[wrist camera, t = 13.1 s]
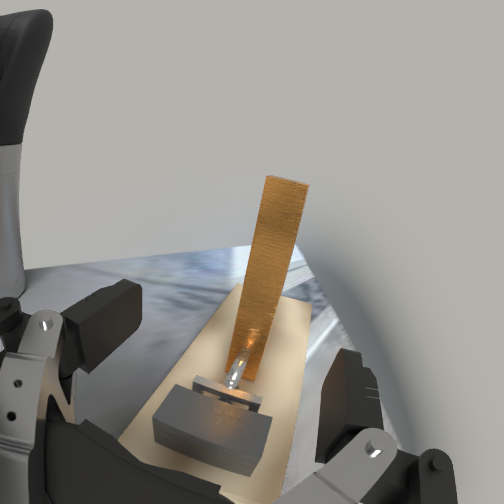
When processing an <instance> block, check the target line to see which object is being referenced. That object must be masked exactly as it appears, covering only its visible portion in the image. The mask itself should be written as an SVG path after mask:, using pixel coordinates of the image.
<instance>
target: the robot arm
mask: <svg viewBox="0 0 504 504" xmlns="http://www.w3.org/2000/svg"><path fill="white" fill-rule="evenodd" d="M52 31H53V18H52V15H51V13H50V12H49V11H47V10H44V9H39V10H30V11H23V12H18V13H13V14H8V15H4V16H0V338H1V341H2V343H3V346H4V350H3V351H1V352H0V504H235V503H234V502H233V501H231V500H230V499H228V498H227V497H225V496H223V495H222V494H220V493H219V491H220V488H221V485H218V484H215V483H212V482H209V481H206V480H203V479H201V478H198V477H195V476H193V475H190V474H187V473H185V472H181V471H176V470H171V469H167V468H162V467H158V466H154V465H150V464H146V463H143V462H141V461H140V460H138V459H137V458H136V457H135V456H134V455H133V454H131V453H130V452H129V451H128V450H127V449H126V448H125V447H124V446H123V445H121V444H120V443H119V442H118V441H117V440H116V439H115V438H114V437H113V436H111V435H109V434H108V433H106V432H105V431H103V430H101V429H100V428H98V427H97V426H95V425H94V424H92V423H91V422H89V421H88V420H86V419H85V420H84V421H83V422H82V424H81V425H77V424H76V420H75V415H74V401H75V384H76V373H75V370H77V369H78V368H81V369H82V370H83V371H85V372H87V373H88V374H89V373H90V372H91V371H92V370H94V369H95V368H96V367H97V366H98V365H99V364H100V363H101V362H102V361H103V360H104V359H105V358H107V357H108V356H109V355H110V354H111V353H112V352H113V351H114V350H115V349H116V348H117V347H119V346H120V345H121V344H122V343H123V342H124V341H125V340H126V339H127V338H129V337H130V336H131V335H132V334H133V333H134V332H135V331H136V330H137V329H138V328H139V326H140V324H141V320H142V287H141V285H139V284H137V283H134V282H132V281H129V280H127V279H123V280H121V281H119V282H117V283H116V284H114V285H112V286H108V287H104V288H101V289H99V290H97V291H95V292H94V293H92V294H91V295H89V296H87V297H85V299H82V300H81V301H79V302H77V303H76V304H74V305H72V306H71V307H69V308H68V309H66V310H64V311H63V312H61V313H60V314H59V313H58V312H56V311H52V310H43V311H39V312H37V313H35V314H33V315H29V314H26V313H24V312H22V310H21V306H20V302H19V300H18V299H16V298H17V297H19V296H20V295H21V294H22V292H23V291H24V289H25V287H26V280H25V274H24V267H23V259H22V249H21V238H20V221H19V178H20V176H19V175H20V160H21V149H22V144H21V143H22V141H23V133H24V129H25V125H26V121H27V118H28V114H29V109H30V105H31V100H32V96H33V92H34V89H35V85H36V82H37V79H38V76H39V73H40V70H41V67H42V64H43V61H44V59H45V56H46V53H47V50H48V47H49V43H50V40H51V35H52ZM377 390H378V386H377V381H376V377H375V376H374V374H373V373H372V371H371V370H370V368H367V367H363V364H362V357H361V353H360V352H356V351H351V350H347V349H343V348H341V349H340V350H339V352H338V354H337V356H336V358H335V360H334V362H333V364H332V366H331V368H330V370H329V372H328V374H327V376H326V378H325V380H324V383H323V387H322V391H321V404H320V417H319V428H318V438H317V447H316V456H315V462H318V463H325V465H324V466H323V467H322V468H321V469H319V470H318V471H317V472H314V473H313V474H311V475H310V476H309V477H307V478H306V479H305V480H303V481H302V482H301V483H299V484H298V485H297V486H295V487H294V488H293V489H291V490H290V491H288V492H287V493H286V494H284V495H283V496H281V497H280V498H278V499H277V500H275V501H274V502H272V503H271V504H358V502H361V503H364V504H458V503H457V492H456V484H455V477H454V470H453V465H452V461H451V459H450V458H449V456H448V455H447V454H446V453H445V452H443V451H441V450H439V449H429V450H426V451H425V452H423V453H422V454H421V455H420V456H415V455H412V454H409V453H406V452H403V451H401V450H399V449H397V445H396V442H395V440H394V439H393V437H392V436H391V435H390V434H389V433H387V432H386V431H384V426H383V419H382V411H381V405H380V399H379V392H378V391H377Z"/></svg>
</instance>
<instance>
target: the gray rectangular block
mask: <svg viewBox="0 0 504 504" xmlns="http://www.w3.org/2000/svg"><path fill="white" fill-rule="evenodd" d="M234 389H237V390H239V389H240V388H239V386H238V385H237V387H236V388H234ZM233 403H234V401H231V400H228V399H225V398H222V397H219V398H218V400H216V399H213V398H211V397H208V396H205V395H203V394H200V393H198V392H195V391H192V390H190V389H188V388H185V387H183V386H180V385H178V384H175V385H174V387H173V388H172V389H171V391H170V392H169V394H168V395H167V396H166V398H165V399H164V401H163V402H162V403H161V405H160V406H159V408H158V409H157V410H156V412H155V413H154V415H153V416H152V423H153V432H154V439H155V442H156V443H158V444H160V445H163V446H165V447H167V448H169V449H171V450H174V451H176V452H178V453H180V454H183V455H185V456H188V457H190V458H193V459H195V460H198V461H201V462H203V463H206V464H209V465H212V466H214V467H217V468H220V469H223V470H226V471H230V472H233V473H236V474H240V475H243V476H247V477H250V476H251V475H252V473H253V471H254V470H255V468H256V466H257V465H258V463H259V461H260V460H261V458H262V454H263V451H264V448H265V444H266V441H267V437H268V433H269V430H270V426H271V423H272V419H273V417H270V416H267V415H263V414H260V413H256V412H253V411H249V410H246V409H243V408H240V407H237V406H234V405H233Z"/></svg>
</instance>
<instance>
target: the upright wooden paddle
mask: <svg viewBox="0 0 504 504" xmlns="http://www.w3.org/2000/svg"><path fill="white" fill-rule="evenodd" d="M308 188H309V184H305V183H301V182H297V181H293V180H289V179H285V178H280V177H276V176H266V181H265V185H264V190H263V195H262V200H261V204H260V209H259V214H258V218H257V223H256V227H255V233H254V237H253V242H252V246H251V251H250V256H249V260H248V265H247V270H246V274H245V279H244V284H243V289H242V293H241V298H240V303H239V307H238V312H237V317H236V322H235V326H234V331H233V336H232V340H231V345H230V350H229V355H228V359H227V364H226V369H225V372H227V373H228V375H227V377H226V379H225V382H224V384H225V385H222V384H220V383H217V382H214V381H211V380H209V379H206V378H203V377H201V376H198V375H196V377H195V378H194V380H193V384H192V391H195V392H198V393H200V394H204V391H206V392H208V393H211V394H214V395H217V396H219V397H222V398H225V399H228V400H231V401H234V402H237V403H240V404H243V405H247V406H249V408H248V410H249V411H253V412H256V413H258V410H259V408H260V405H261V402H262V399H263V397H260V396H256V395H253V394H250V393H247V392H243V391H240V390H237V389H234V388H236V387H237V385H238V382H239V380H240V378H241V377H242V378H245V379H248V380H251V381H255V378H256V375H257V373H258V370H259V367H260V364H261V360H262V357H263V354H264V351H265V347H266V344H267V341H268V337H269V334H270V331H271V327H272V324H273V321H274V317H275V314H276V310H277V307H278V303H279V300H280V296H281V293H282V289H283V286H284V282H285V278H286V275H287V271H288V267H289V264H290V260H291V256H292V252H293V249H294V245H295V241H296V237H297V233H298V229H299V225H300V221H301V217H302V213H303V209H304V205H305V201H306V196H307V192H308Z"/></svg>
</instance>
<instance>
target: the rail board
mask: <svg viewBox="0 0 504 504" xmlns="http://www.w3.org/2000/svg"><path fill="white" fill-rule="evenodd" d="M242 289H243V284H239V283H237V284H236V286H235V287H234V288H233V290H232V291H231V292H230V294H229V295H228V296H227V298H226V299H225V300H224V302H223V303H222V304H221V306H220V307H219V308H218V309H217V311H216V312H215V313H214V315H213V316H212V317H211V319H210V320H209V321H208V323H207V324H206V325H205V327H204V328H203V329H202V331H201V332H200V333H199V335H198V336H197V337H196V338H195V340H194V341H193V342H192V344H191V345H190V346H189V348H188V349H187V350H186V352H185V353H184V354H183V356H182V357H181V358H180V359H179V361H178V362H177V363H176V365H175V366H174V367H173V369H172V370H171V371H170V373H169V374H168V375H167V376H166V378H165V379H164V380H163V382H162V383H161V384H160V386H159V387H158V388H157V389H156V391H155V392H154V393H153V395H152V396H151V397H150V399H149V400H148V401H147V402H146V404H145V405H144V406H143V408H142V409H141V410H140V411H139V413H138V414H137V415H136V417H135V418H134V419H133V421H132V422H131V423H130V424H129V426H128V427H127V428H126V430H125V431H124V432H123V433H122V435H121V436H120V437H119V439H118V440H117V441H118V442H119V443H120V444H121V445H123V446H124V447H125V448H126V449H127V450H128V451H129V452H130V453H131V454H133V455H134V456H135V457H136V458H137V459H138V460H140V461H141V462H143V463H146V464H150V465H154V466H158V467H162V468H167V469H171V470H176V471H181V472H185V473H187V474H190V475H193V476H195V477H198V478H201V479H203V480H206V481H209V482H212V483H215V484H218V485H221V488H220V491H219V493H220V494H222V495H223V496H225V497H227V498H228V499H230V500H231V501H233V502H234V503H235V504H271V503H272V502H274V501H275V500H277V499H278V498H280V494H281V490H282V485H283V481H284V477H285V472H286V468H287V463H288V459H289V454H290V449H291V444H292V439H293V434H294V429H295V423H296V418H297V412H298V406H299V400H300V394H301V388H302V381H303V374H304V367H305V360H306V352H307V344H308V336H309V328H310V318H311V309H312V304H309V303H305V302H302V301H298V300H295V299H291V298H287V297H284V296H280V300H279V303H278V307H277V310H276V314H275V317H274V321H273V324H272V327H271V331H270V334H269V337H268V341H267V344H266V347H265V351H264V354H263V357H262V360H261V364H260V367H259V370H258V373H257V375H256V378H255V381H251V380H248V379H245V378H242V377H241V378H240V380H239V382H238V386H239V388H240V389H239V390H240V391H243V392H247V393H250V394H253V395H256V396H260V397H263V399H262V402H261V405H260V408H259V410H258V413H260V414H263V415H267V416H270V417H273V419H272V423H271V426H270V430H269V433H268V437H267V441H266V444H265V448H264V451H263V454H262V458H261V460H260V461H259V463H258V465H257V466H256V468H255V470H254V471H253V473H252V475H251V476H250V477H247V476H243V475H240V474H236V473H233V472H230V471H226V470H223V469H220V468H217V467H214V466H212V465H209V464H206V463H203V462H201V461H198V460H195V459H193V458H190V457H188V456H185V455H183V454H180V453H178V452H176V451H174V450H171V449H169V448H167V447H165V446H163V445H160V444H158V443H156V442H155V439H154V432H153V423H152V416H153V415H154V413H155V412H156V410H157V409H158V408H159V406H160V405H161V403H162V402H163V401H164V399H165V398H166V396H167V395H168V394H169V392H170V391H171V389H172V388H173V387H174V385H175V384H178V385H180V386H183V387H185V388H188V389H190V390H192V384H193V380H194V378H195V377H196V375H198V376H201V377H203V378H206V379H209V380H211V381H214V382H217V383H220V384H222V385H225V384H224V382H225V379H226V377H227V375H228V373H227V372H225V369H226V364H227V359H228V355H229V350H230V345H231V340H232V336H233V331H234V326H235V322H236V317H237V312H238V307H239V303H240V298H241V293H242ZM203 395H205V396H208V397H211V398H213V399H216V400H218V398H219V396H217V395H214V394H211V393H208V392H206V391H204V394H203ZM233 405H234V406H237V407H240V408H243V409H246V410H248V408H249V406H247V405H243V404H240V403H237V402H234V403H233Z"/></svg>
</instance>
